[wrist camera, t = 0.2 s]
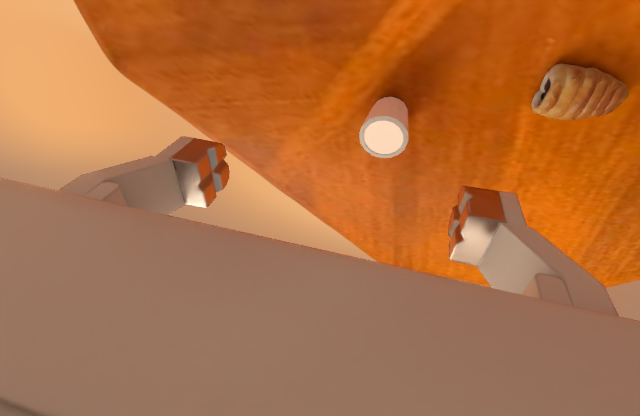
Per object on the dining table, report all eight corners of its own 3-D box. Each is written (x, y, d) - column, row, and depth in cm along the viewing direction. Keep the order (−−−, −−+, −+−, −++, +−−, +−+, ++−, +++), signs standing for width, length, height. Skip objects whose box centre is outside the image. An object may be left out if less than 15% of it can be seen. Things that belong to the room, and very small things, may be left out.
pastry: (637, 68, 39) (651, 82, 36) (602, 119, 43) (611, 135, 41) (550, 59, 40) (556, 71, 38) (525, 109, 45) (529, 123, 43)
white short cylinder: (421, 117, 50) (418, 142, 45) (386, 140, 54) (379, 166, 50) (393, 83, 48) (386, 106, 43) (358, 110, 52) (349, 134, 47)
